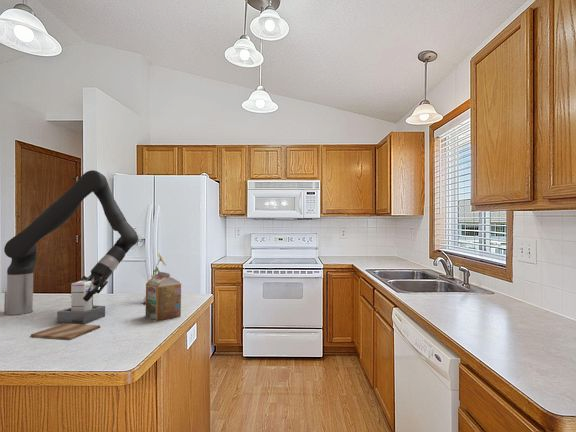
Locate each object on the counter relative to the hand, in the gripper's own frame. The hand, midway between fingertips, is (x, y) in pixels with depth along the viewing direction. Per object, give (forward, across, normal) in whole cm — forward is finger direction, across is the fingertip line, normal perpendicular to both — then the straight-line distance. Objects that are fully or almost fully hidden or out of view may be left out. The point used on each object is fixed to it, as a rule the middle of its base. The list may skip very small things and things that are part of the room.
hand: (78, 299), depth 139 cm
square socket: (+5, 0, +7) cm, 9 cm away
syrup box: (+4, 0, +6) cm, 8 cm away
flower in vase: (-21, +3, +33) cm, 39 cm away
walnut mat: (+14, +11, -2) cm, 18 cm away
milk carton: (-8, +26, +20) cm, 34 cm away
